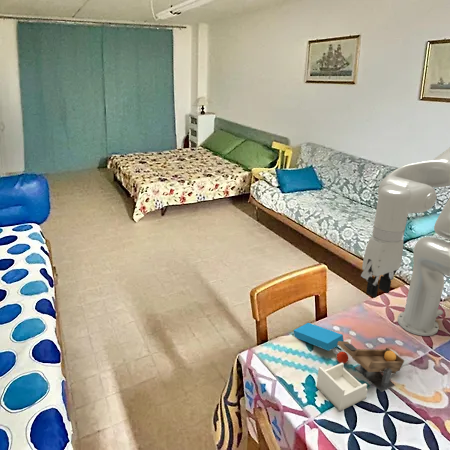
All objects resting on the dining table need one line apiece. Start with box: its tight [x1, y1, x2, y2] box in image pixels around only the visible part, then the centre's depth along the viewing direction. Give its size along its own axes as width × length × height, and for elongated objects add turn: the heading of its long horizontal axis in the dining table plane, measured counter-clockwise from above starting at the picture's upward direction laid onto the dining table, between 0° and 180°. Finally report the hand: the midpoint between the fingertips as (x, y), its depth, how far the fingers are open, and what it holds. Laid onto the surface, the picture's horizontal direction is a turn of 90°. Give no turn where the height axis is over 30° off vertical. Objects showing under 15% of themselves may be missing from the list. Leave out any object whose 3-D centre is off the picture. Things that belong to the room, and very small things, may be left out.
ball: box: [384, 350, 397, 361], centre depth 113 cm, size 3×3×3 cm
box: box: [316, 362, 369, 412], centre depth 106 cm, size 9×9×7 cm
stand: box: [354, 364, 396, 393], centre depth 112 cm, size 5×10×6 cm, turn 28°
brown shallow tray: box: [337, 340, 405, 375], centre depth 113 cm, size 14×12×5 cm
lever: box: [293, 322, 350, 365], centre depth 124 cm, size 7×7×18 cm
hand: (377, 292), depth 110 cm, fingers open, 4 cm apart
